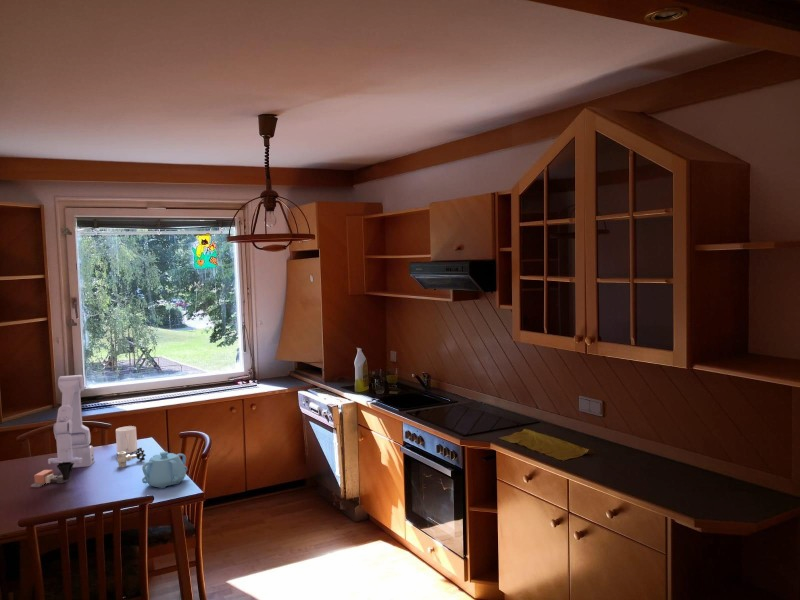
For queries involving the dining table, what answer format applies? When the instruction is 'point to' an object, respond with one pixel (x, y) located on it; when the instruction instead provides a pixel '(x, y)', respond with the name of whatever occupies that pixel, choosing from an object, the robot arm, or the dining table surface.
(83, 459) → the robot arm
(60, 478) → the plug
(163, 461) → the decorative pot
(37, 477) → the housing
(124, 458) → the valve
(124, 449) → the white cylinder
